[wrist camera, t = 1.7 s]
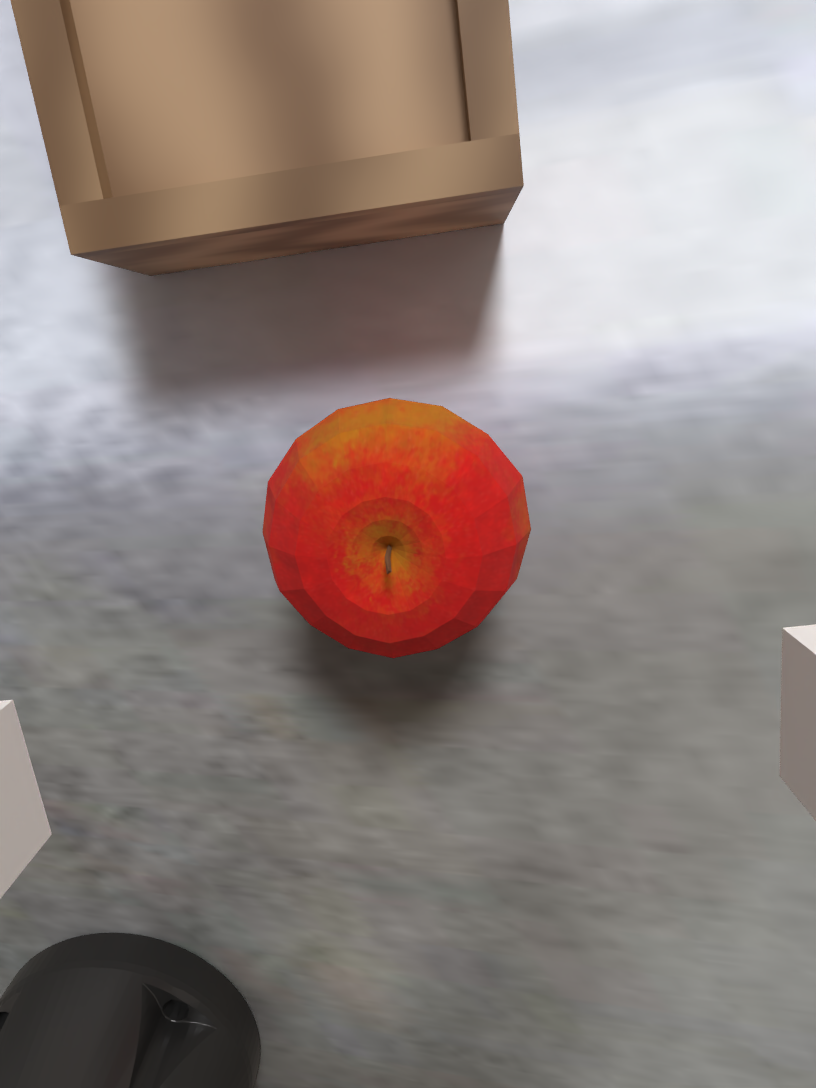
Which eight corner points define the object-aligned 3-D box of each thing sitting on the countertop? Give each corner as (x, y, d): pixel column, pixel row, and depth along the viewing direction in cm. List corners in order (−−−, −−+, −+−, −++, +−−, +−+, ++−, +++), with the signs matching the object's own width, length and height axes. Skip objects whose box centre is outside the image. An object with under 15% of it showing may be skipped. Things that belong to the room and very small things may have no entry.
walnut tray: (150, 275, 30) (70, 254, 24) (60, -151, 26) (-66, -318, 20) (503, 223, 29) (523, 185, 22) (463, -230, 25) (472, -435, 19)
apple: (527, 409, 31) (580, 443, 19) (485, 600, 33) (510, 733, 22) (317, 370, 31) (245, 382, 19) (290, 565, 33) (212, 679, 22)
